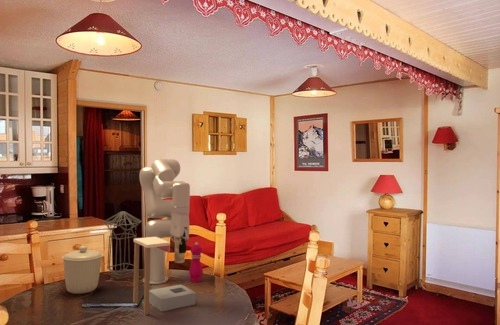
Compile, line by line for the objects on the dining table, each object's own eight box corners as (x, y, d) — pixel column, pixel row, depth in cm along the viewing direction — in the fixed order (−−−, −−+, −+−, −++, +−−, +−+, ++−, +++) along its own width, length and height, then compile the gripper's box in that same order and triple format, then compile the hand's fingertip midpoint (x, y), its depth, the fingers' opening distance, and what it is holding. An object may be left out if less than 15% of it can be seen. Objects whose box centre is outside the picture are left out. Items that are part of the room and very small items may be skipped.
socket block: (147, 301, 173) (148, 290, 173) (180, 295, 183) (181, 284, 183) (161, 311, 162) (161, 299, 162) (195, 304, 171) (195, 292, 171)
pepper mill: (200, 283, 202) (200, 243, 202) (186, 281, 204) (187, 243, 204) (204, 279, 209) (205, 241, 209) (191, 277, 211) (192, 240, 211)
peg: (172, 261, 175) (173, 234, 175) (181, 260, 177) (182, 233, 177) (177, 263, 171) (177, 235, 171) (186, 262, 174) (186, 235, 174)
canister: (60, 298, 174) (61, 251, 174) (61, 286, 191) (62, 243, 191) (103, 294, 181) (104, 248, 182) (101, 283, 198) (102, 241, 198)
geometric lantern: (143, 276, 211) (143, 211, 211) (115, 283, 200) (116, 214, 199) (127, 270, 222) (128, 208, 221) (101, 276, 211) (101, 211, 210)
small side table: (131, 304, 169) (133, 238, 169) (153, 300, 175) (155, 236, 175) (145, 315, 157) (146, 244, 157) (168, 310, 163) (170, 242, 163)
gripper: (164, 208, 179) (163, 249, 179) (181, 213, 165) (180, 256, 165) (179, 208, 183) (178, 247, 183) (197, 212, 170) (196, 254, 170)
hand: (179, 251), depth 174 cm, fingers closed on peg, 4 cm apart
